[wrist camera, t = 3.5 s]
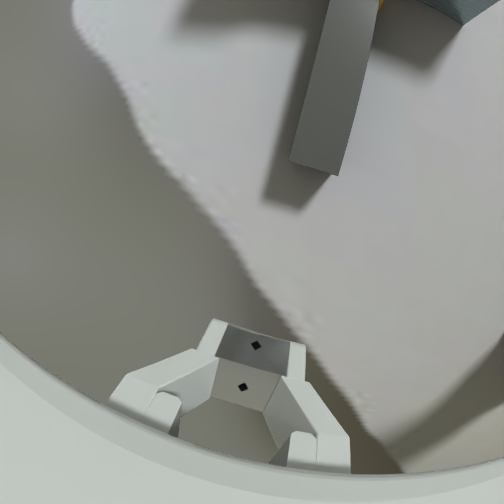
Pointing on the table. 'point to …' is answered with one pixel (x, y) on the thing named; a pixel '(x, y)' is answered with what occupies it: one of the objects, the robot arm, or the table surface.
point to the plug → (335, 85)
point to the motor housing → (460, 8)
